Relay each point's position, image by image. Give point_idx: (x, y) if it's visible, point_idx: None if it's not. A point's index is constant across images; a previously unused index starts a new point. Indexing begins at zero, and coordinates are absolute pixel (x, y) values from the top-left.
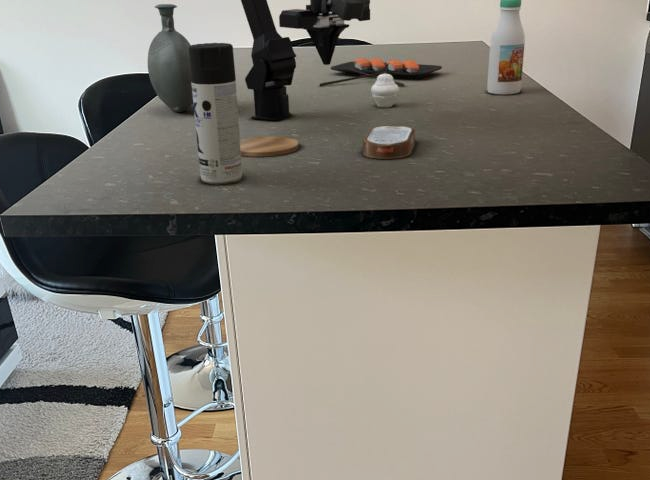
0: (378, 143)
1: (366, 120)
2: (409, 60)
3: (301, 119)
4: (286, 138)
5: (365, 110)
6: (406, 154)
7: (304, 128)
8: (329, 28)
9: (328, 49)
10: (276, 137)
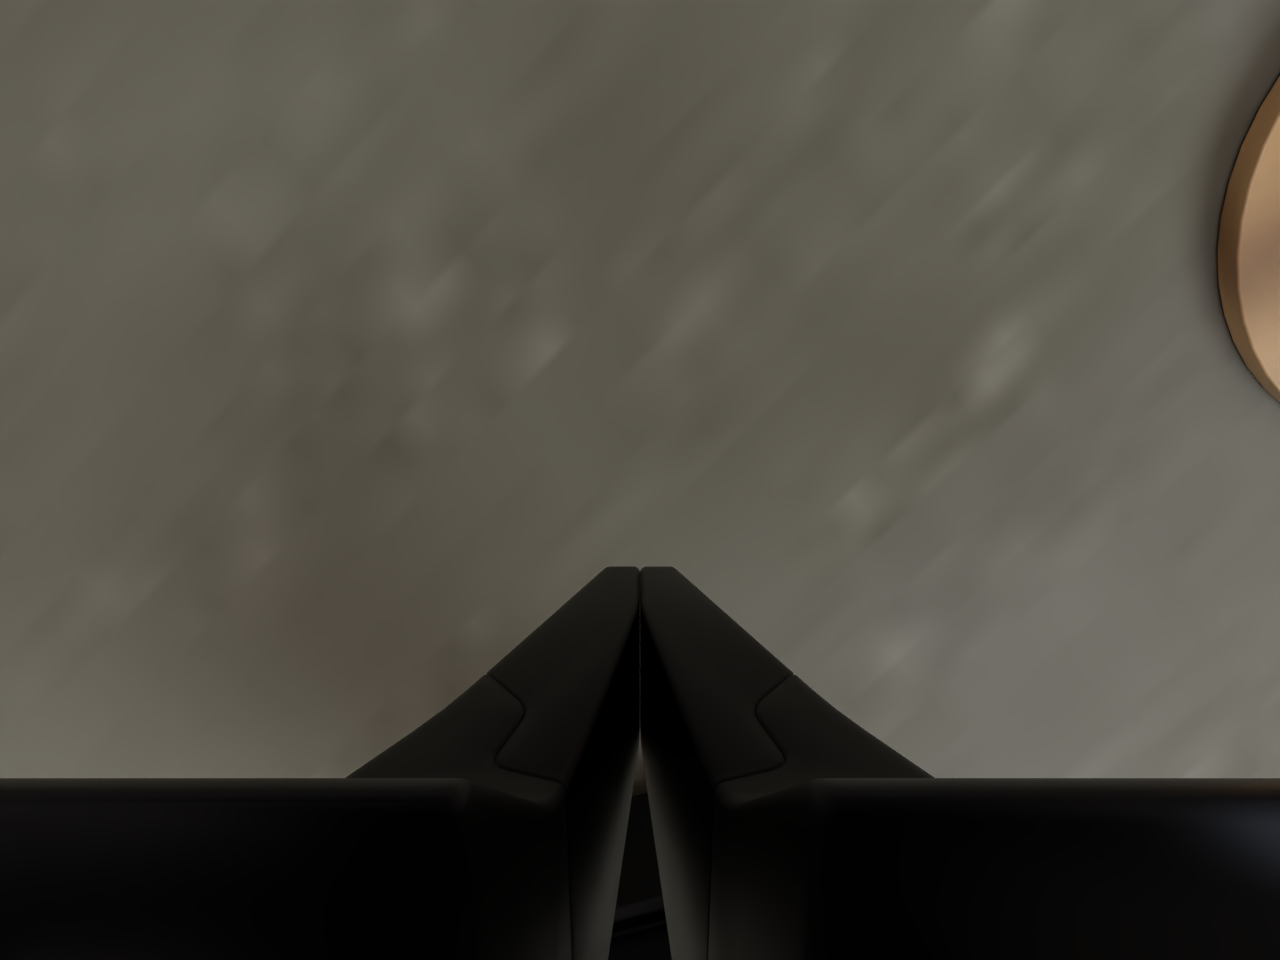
0: None
1: (239, 300)
2: None
3: None
4: (1270, 214)
5: (14, 571)
6: None
7: (778, 475)
8: (1085, 785)
9: (695, 650)
10: (1278, 305)
